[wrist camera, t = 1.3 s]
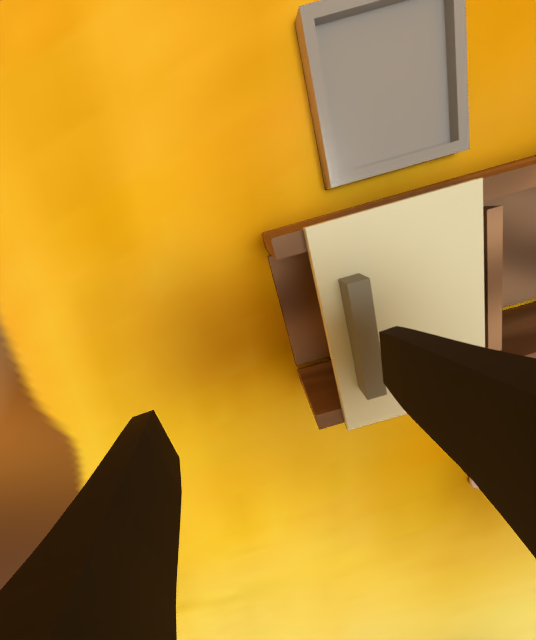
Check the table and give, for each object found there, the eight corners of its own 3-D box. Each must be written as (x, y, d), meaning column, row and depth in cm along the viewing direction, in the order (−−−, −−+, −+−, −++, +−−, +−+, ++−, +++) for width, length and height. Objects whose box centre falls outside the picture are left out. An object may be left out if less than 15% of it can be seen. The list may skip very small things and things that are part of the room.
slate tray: (455, 153, 18) (469, 148, 17) (325, 189, 18) (331, 188, 17) (447, -22, 15) (464, -40, 14) (294, 21, 15) (299, 6, 14)
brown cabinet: (550, 309, 22) (643, 336, 17) (300, 381, 22) (319, 429, 17) (562, 147, 19) (683, 121, 14) (261, 232, 19) (270, 238, 14)
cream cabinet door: (478, 386, 17) (503, 403, 16) (345, 424, 17) (356, 446, 16) (474, 178, 13) (506, 173, 12) (302, 227, 13) (311, 229, 12)
